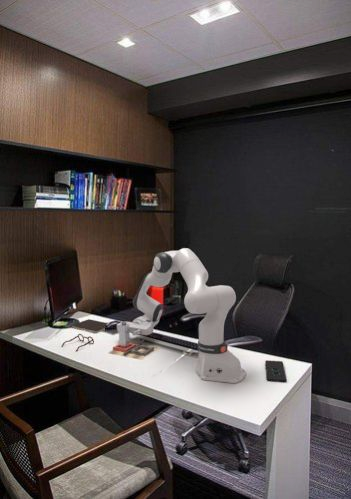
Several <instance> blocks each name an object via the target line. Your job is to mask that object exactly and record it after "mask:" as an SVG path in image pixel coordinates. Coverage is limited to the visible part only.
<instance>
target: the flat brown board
mask: <svg viewBox="0 0 351 499" xmlns="http://www.w3.org/2000/svg"><path fill="white" fill-rule="evenodd" d="M130 343H132V344H136V346H135V347H133V348H132V349H130V350H128V351H127V352H121V351H116V350H113V349H112V350H110V351H108V352H107V354H111V355H116V356H120V357H125V358H131V359H136V360H141V361H142V360H144V359H145V358H147V357H148V356H150V355H151V354H153V353H154V352H155V351H157V350H159V349H160V348H161V347H160V346H153V345H147V344H143V343H135V342H131V341H130Z"/></svg>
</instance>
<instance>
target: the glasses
mask: <svg viewBox="0 0 351 499" xmlns="http://www.w3.org/2000/svg"><path fill="white" fill-rule="evenodd" d="M80 336H81V337H82V339H81V337H80ZM76 339H78V340H79V341H80V342H84V341H85V339H87V342H86V343H84V344H81V345H79V346H78V347H77V348H76V349H75V353H77V352H79V351H78V350H79V349H80V348H81V347H85V346H87V345H88V344H90V345H94V344H95V340H94V338H93V337H92V336H84V335H83V334H82V333H78V334H77V335H76V336H74V337H73V338H71V339H69V340H65V341H64V342H63V343H62V344H61V345H60V346H61V348H63V347H64V345H65V344H66V343H67V342H71V341H74V340H76Z"/></svg>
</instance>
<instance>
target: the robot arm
mask: <svg viewBox="0 0 351 499" xmlns="http://www.w3.org/2000/svg"><path fill="white" fill-rule="evenodd" d="M179 272H180V274H181V276H182V279H183V280H184V281H185V283H186V286H187V293H186V294H185V296H184V299H183V304H184V307H185V309H186V311H187V312H188V313H189V314H192V315H193V314H196V315H202V314H205V316H204V318H203V319H202V320H201V321H200V322H199V324H198V341H197V352H198V356H197V357H198V358H197V365H196V369H195V374H197V375H198V376H199V377H200V379H201V380H202V381H203V380H204V381H209V382H210V381H211V382H220V383H230V384H238V383H241V381H243V380H244V379H245V378H246V375H247V370H246V369H245V368H242V366H241V361H240V359H239V358H238V357H237V356H235V355H234V354H233V353H232V352H230V350H229V349H228V346H229V342H228V343H226V342H225V341H224V331H225V330H224V328H225V327H224V326H225V321H226V318H227V316H228V314H229V311H230V310H231V308H232V307H233V306H234V305H235V303H236V302H237V301H236V300H237V296H236V292H235V290H234V289H233V287H232V286H230V285H222V284H219V285H214V286H213V285H212V286H208V285H206V283H207V281H208V280H209V273H208V270H207V269H206V268H205V266H204V265H203V263H202V262H201V260H200V258H199V257H198V256H197V255H196V254H195V252H194V251H192V250H191V248H186V247H182V248H181V249H179V250H169V251H164V252H163V251H161V252H158V253H156V254H155V255H154V258H153V266H152V271H150V272H148V273H147V274H146V275H145V276H144V277H143V279H142V281H141V283H140V286H139V288H138V290H137V292H136V294H135V296H134V297H133V300H132V305H133V308H134V309H136V310H138V311H141V312H142V313H144V314H143V315H141V316H138V317H135V319H133V320H132V322H131V321H125V322H126V323H127V324H129V327H130V334H132V336H137V335H142V336H149V335H151V334H153V333H154V327H156V326H157V325H158V324H159V322H160V319H161V317H162V315H163V313H164V309H163V308H164V307H163V304H162V303H160V302H159V301H157V300H155V299H154V298H152V297H151V296H149V295H148V294H147V292H148V290H149V288H150V287H151V286H152V287H156V288H161V287H165V286H167V285H168V284H169V283H170V281H171V279H172V275H173V273H179ZM122 322H123V321H121V322H119V323H117V324H116V331H117V333H118V334H119V325H120V324H122Z"/></svg>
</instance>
